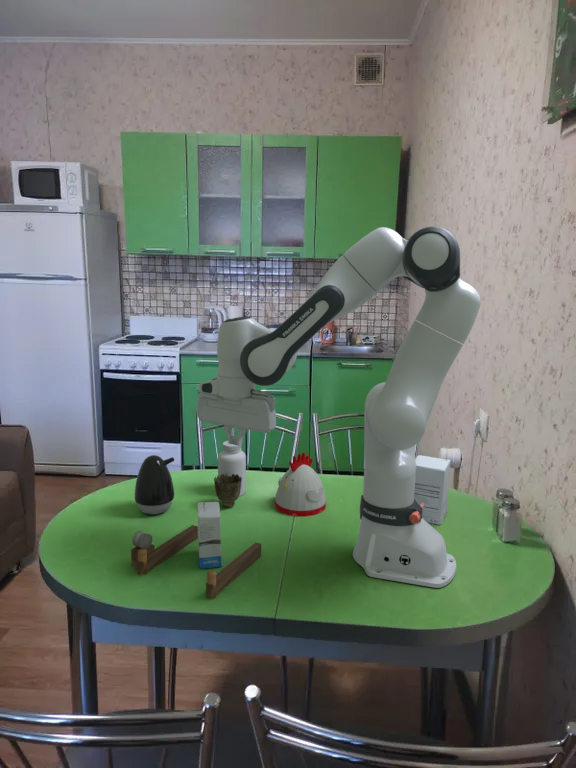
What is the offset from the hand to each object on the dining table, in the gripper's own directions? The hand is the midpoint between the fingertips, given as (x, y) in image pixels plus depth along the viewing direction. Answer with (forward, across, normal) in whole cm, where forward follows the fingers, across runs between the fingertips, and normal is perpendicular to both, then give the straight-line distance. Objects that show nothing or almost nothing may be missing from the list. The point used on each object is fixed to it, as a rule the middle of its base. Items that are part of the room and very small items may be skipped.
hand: (235, 444), depth 130 cm
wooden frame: (+23, -1, +16) cm, 28 cm away
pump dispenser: (+23, +25, 0) cm, 34 cm away
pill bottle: (+23, +14, -20) cm, 33 cm away
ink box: (+23, -2, +13) cm, 26 cm away
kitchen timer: (+23, -7, -22) cm, 33 cm away
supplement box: (+22, -39, -34) cm, 56 cm away
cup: (+23, +10, -12) cm, 28 cm away
